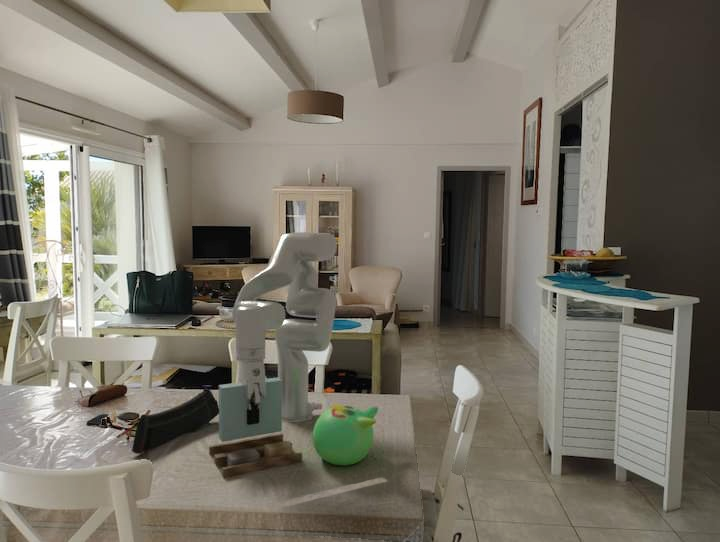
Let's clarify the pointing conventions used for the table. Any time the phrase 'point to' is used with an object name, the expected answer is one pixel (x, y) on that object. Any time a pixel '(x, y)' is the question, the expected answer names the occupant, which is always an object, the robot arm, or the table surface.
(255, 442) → the rack
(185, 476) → the table surface
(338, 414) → the toy bird
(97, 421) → the phone
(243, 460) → the offcut
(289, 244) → the robot arm
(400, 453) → the table surface
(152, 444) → the magazine
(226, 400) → the panel
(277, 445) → the offcut
